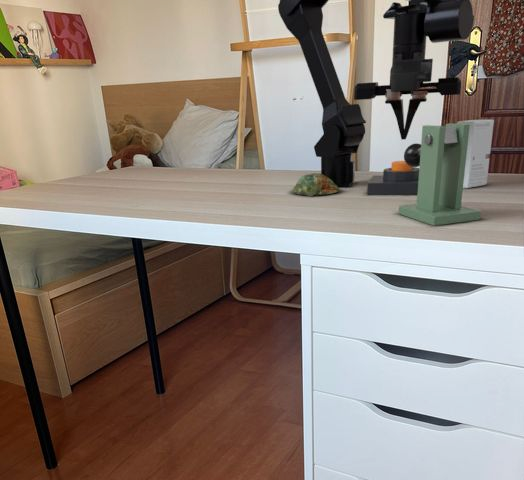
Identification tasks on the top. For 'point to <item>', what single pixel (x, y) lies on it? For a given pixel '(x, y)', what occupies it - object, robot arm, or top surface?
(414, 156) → the lever
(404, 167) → the button
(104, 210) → the top surface
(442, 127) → the bracket
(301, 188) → the green mottled dome
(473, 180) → the cosmetic box
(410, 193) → the button box
